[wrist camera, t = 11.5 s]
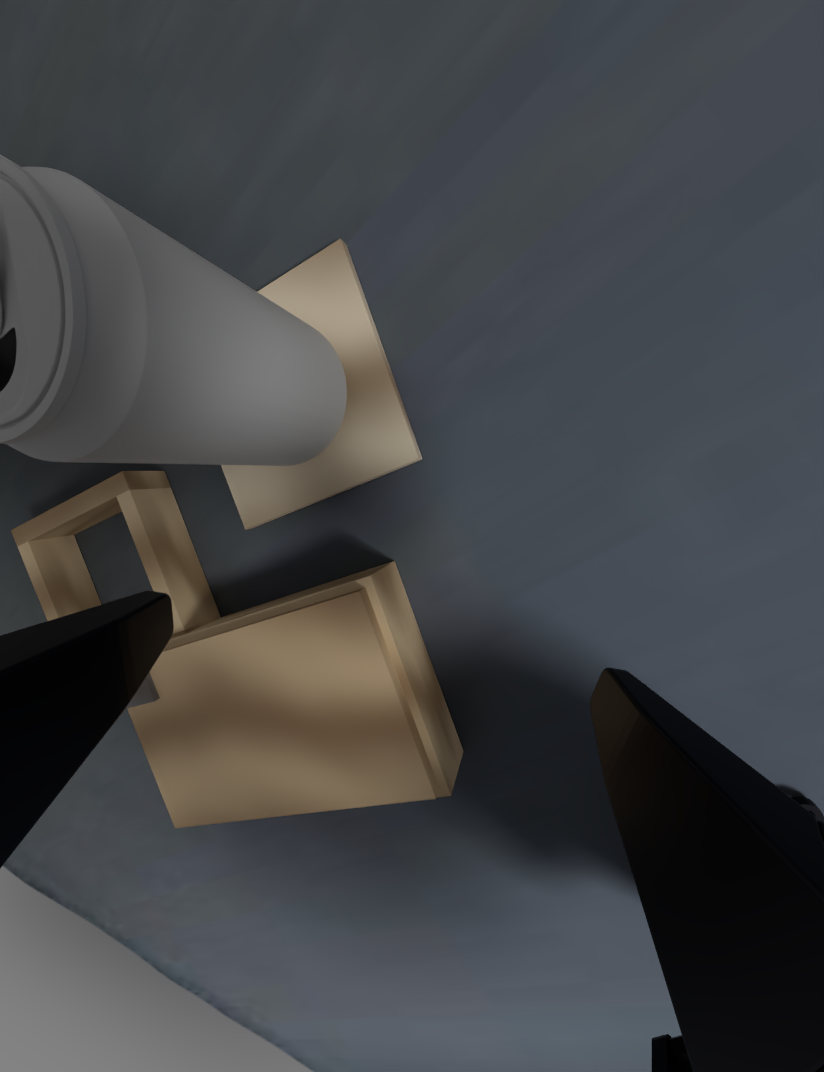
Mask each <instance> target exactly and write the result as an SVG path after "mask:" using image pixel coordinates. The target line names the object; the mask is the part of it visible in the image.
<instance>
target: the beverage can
mask: <svg viewBox="0 0 824 1072" xmlns="http://www.w3.org/2000/svg"><path fill="white" fill-rule="evenodd" d="M346 402H347V385H346V378H345V373H344V369H343V366H342V364H341V361H340V359H339V357H338V355H337V353H336V351H335V349H334V348H333V346H332V345H331V344H330V342H329V341H328V340H327V339H326V338H325V337H324V336H323V335H322V334H321V333H320V332H319V331H317V330H316V329H315V328H313V327H312V326H310V325H308V324H307V323H305V322H304V321H302V320H301V319H299V318H297V317H296V316H294V315H293V314H291V313H289V312H288V311H286V310H285V309H283V308H282V307H280V306H278V305H277V304H275V303H274V302H272V301H271V300H269V299H267V298H266V297H264V296H263V295H261V294H259V293H258V292H256V291H255V290H253V289H252V288H250V287H248V286H247V285H245V284H244V283H242V282H240V281H239V280H237V279H236V278H234V277H233V276H231V275H229V274H228V273H226V272H225V271H223V270H221V269H220V268H218V267H217V266H215V265H214V264H212V263H210V262H209V261H207V260H206V259H204V258H202V257H201V256H199V255H198V254H196V253H195V252H193V251H191V250H190V249H188V248H187V247H185V246H184V245H182V244H180V243H179V242H177V241H176V240H174V239H172V238H171V237H169V236H168V235H166V234H165V233H163V232H161V231H160V230H158V229H157V228H155V227H153V226H152V225H150V224H149V223H147V222H146V221H144V220H142V219H141V218H139V217H138V216H136V215H134V214H133V213H131V212H130V211H128V210H127V209H125V208H123V207H122V206H120V205H119V204H117V203H115V202H114V201H112V200H111V199H109V198H108V197H106V196H104V195H103V194H101V193H100V192H98V191H97V190H95V189H93V188H92V187H90V186H89V185H87V184H85V183H84V182H82V181H81V180H79V179H77V178H75V177H73V176H71V175H70V174H67V173H65V172H62V171H59V170H55V169H51V168H46V167H20V166H19V165H17V164H15V163H14V162H12V161H10V160H9V159H7V158H5V157H3V156H2V155H0V444H7V445H9V446H10V447H12V448H14V449H16V450H18V451H20V452H21V453H23V454H26V455H28V456H30V457H33V458H36V459H40V460H44V461H50V462H84V463H143V464H201V465H260V466H292V465H297V464H301V463H304V462H306V461H308V460H310V459H312V458H314V457H316V456H317V455H318V454H320V453H321V452H322V451H323V450H324V449H325V448H326V447H327V446H328V445H329V444H330V443H331V441H332V440H333V439H334V437H335V436H336V434H337V432H338V430H339V428H340V426H341V423H342V421H343V417H344V414H345V410H346Z"/></svg>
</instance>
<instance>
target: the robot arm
mask: <svg viewBox="0 0 824 1072" xmlns="http://www.w3.org/2000/svg"><path fill="white" fill-rule="evenodd" d="M173 630H174V623H173V612H172V601H171V598H170V596H169V595H168V594H166V593H161V592H155V591H144V592H141V593H138V594H135V595H131V596H128V597H125V598H121V599H118V600H115V601H112V602H108V603H105V604H102V605H99V606H95V607H92V608H89V609H86V610H82V611H79V612H76V613H73V614H69V615H66V616H63V617H60V618H56V619H53V620H50V621H47V622H43V623H40V624H37V625H34V626H30V627H27V628H24V629H21V630H17V631H14V632H11V633H8V634H4V635H1V636H0V868H1V867H2V865H3V864H4V863H5V862H6V860H7V859H8V858H9V857H10V855H11V854H12V853H13V851H14V850H15V849H16V848H17V846H18V845H19V844H20V843H21V841H22V840H23V839H24V837H25V836H26V835H27V834H28V832H29V831H30V830H31V828H32V827H33V826H34V825H35V823H36V822H37V821H38V820H39V818H40V817H41V816H42V814H43V813H44V812H45V811H46V809H47V808H48V807H49V805H50V804H51V803H52V802H53V800H54V799H55V798H56V797H57V795H58V794H59V793H60V791H61V790H62V789H63V788H64V786H65V785H66V784H67V782H68V781H69V780H70V779H71V777H72V776H73V775H74V774H75V772H76V771H77V770H78V768H79V767H80V766H81V765H82V763H83V762H84V761H85V759H86V758H87V757H88V756H89V754H90V753H91V752H92V751H93V749H94V748H95V747H96V745H97V744H98V743H99V742H100V740H101V739H102V738H103V736H104V735H105V734H106V733H107V731H108V730H109V729H110V728H111V726H112V725H113V724H114V722H115V721H116V720H117V719H118V717H119V716H120V715H121V713H122V712H123V711H124V709H125V708H126V707H127V705H128V704H129V703H130V701H131V700H132V698H133V697H134V695H135V694H136V692H137V691H138V689H139V688H140V686H141V685H142V683H143V681H144V680H145V678H146V677H147V675H148V674H149V672H150V670H151V669H152V667H153V666H154V664H155V663H156V661H157V659H158V658H159V656H160V655H161V653H162V651H163V650H164V648H165V647H166V645H167V644H168V642H169V640H170V639H171V637H172V634H173ZM590 709H591V715H592V720H593V725H594V730H595V735H596V740H597V745H598V751H599V756H600V761H601V766H602V771H603V775H604V780H605V784H606V788H607V791H608V795H609V798H610V801H611V805H612V808H613V811H614V815H615V818H616V821H617V824H618V828H619V831H620V834H621V837H622V841H623V844H624V847H625V850H626V854H627V857H628V860H629V863H630V867H631V870H632V873H633V877H634V880H635V883H636V886H637V890H638V893H639V896H640V899H641V903H642V906H643V909H644V912H645V916H646V919H647V922H648V926H649V929H650V932H651V935H652V939H653V942H654V945H655V948H656V952H657V955H658V958H659V961H660V965H661V968H662V971H663V975H664V978H665V981H666V984H667V988H668V991H669V994H670V997H671V1001H672V1004H673V1007H674V1010H675V1014H676V1017H677V1020H678V1024H679V1027H680V1030H681V1033H682V1035H681V1036H677V1037H673V1038H671V1036H670V1035H668V1034H666V1035H662V1036H659V1037H655V1038H652V1072H824V816H823V814H822V812H821V811H820V809H819V808H818V807H817V806H816V804H815V803H814V802H812V801H811V800H810V799H808V798H805V797H790V796H788V795H787V794H786V793H784V792H783V791H782V790H781V789H779V788H778V787H777V786H775V785H774V784H773V783H771V782H770V781H769V780H768V779H766V778H765V777H764V776H762V775H761V774H760V773H759V772H757V771H756V770H755V769H753V768H752V767H751V766H749V765H748V764H747V763H746V762H744V761H743V760H742V759H740V758H739V757H738V756H737V755H735V754H734V753H733V752H731V751H730V750H729V749H727V748H726V747H725V746H724V745H722V744H721V743H720V742H718V741H717V740H716V739H714V738H713V737H712V736H711V735H709V734H708V733H707V732H705V731H704V730H703V729H702V728H700V727H699V726H698V725H696V724H695V723H694V722H692V721H691V720H690V719H689V718H687V717H686V716H685V715H683V714H682V713H681V712H680V711H678V710H677V709H676V708H674V707H673V706H672V705H670V704H669V703H668V702H667V701H665V700H664V699H663V698H661V697H660V696H659V695H658V694H656V693H655V692H654V691H652V690H651V689H650V688H649V687H647V686H646V685H645V684H643V683H642V682H641V681H639V680H638V679H637V678H636V677H634V676H633V675H632V674H630V673H629V672H628V671H625V670H620V669H614V668H605V669H604V670H603V671H602V673H601V675H600V677H599V680H598V682H597V685H596V687H595V690H594V692H593V694H592V697H591V701H590ZM808 810H809V811H808Z"/></svg>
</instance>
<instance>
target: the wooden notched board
mask: <svg viewBox="0 0 824 1072" xmlns="http://www.w3.org/2000/svg"><path fill="white" fill-rule="evenodd" d="M120 512H123V515H124V517H125V520H126V522H127V525H128V527H129V530H130V533H131V535H132V538H133V540H134V543H135V545H136V548H137V550H138V553H139V556H140V558H141V561H142V563H143V566H144V568H145V571H146V573H147V576H148V578H149V581H150V584H151V586H152V589H153V591H155V592H161V593H166V594H168V595H169V596H170V598H171V601H172V612H173V623H174V630H173V634H172V637H171V639H170V640H169V642H168V644H167V645H166V647H165V648H164V650H163V651H162V653H161V655H160V656H159V658H158V659H157V661H156V663H155V664H154V666H153V667H152V669H151V670H150V672H149V674H148V675H147V677H146V678H145V680H144V681H143V683H142V685H141V686H140V688H139V689H138V691H137V692H136V694H135V695H134V697H133V698H132V700H131V701H130V703H129V704H128V705H127V707H126V708H125V709H128V712H129V714H130V717H131V719H132V722H133V724H134V727H135V729H136V732H137V734H138V737H139V739H140V742H141V744H142V747H143V749H144V752H145V754H146V757H147V759H148V762H149V764H150V767H151V769H152V772H153V774H154V777H155V779H156V782H157V784H158V787H159V789H160V792H161V794H162V797H163V799H164V802H165V804H166V807H167V809H168V812H169V814H170V817H171V819H172V822H173V824H174V827H175V828H181V827H190V826H199V825H208V824H217V823H225V822H234V821H243V820H252V819H261V818H270V817H279V816H288V815H296V814H305V813H314V812H323V811H332V810H341V809H350V808H359V807H367V806H376V805H385V804H394V803H403V802H412V801H421V800H430V799H436V798H438V797H446V796H451V794H452V791H453V787H454V784H455V780H456V776H457V773H458V769H459V766H460V762H461V759H462V755H463V748H462V746H461V743H460V740H459V737H458V735H457V732H456V729H455V726H454V724H453V721H452V718H451V715H450V713H449V710H448V707H447V704H446V702H445V699H444V696H443V693H442V691H441V688H440V685H439V682H438V680H437V677H436V674H435V671H434V669H433V666H432V663H431V660H430V657H429V655H428V652H427V649H426V646H425V644H424V641H423V638H422V635H421V633H420V630H419V627H418V624H417V622H416V619H415V616H414V613H413V611H412V608H411V605H410V602H409V600H408V597H407V594H406V591H405V589H404V586H403V583H402V580H401V578H400V575H399V572H398V569H397V567H396V564H395V561H392V562H389V563H386V564H383V565H380V566H377V567H374V568H371V569H368V570H365V571H362V572H359V573H356V574H353V575H349V576H346V577H343V578H340V579H337V580H334V581H331V582H328V583H325V584H322V585H319V586H316V587H313V588H310V589H307V590H303V591H300V592H297V593H294V594H291V595H288V596H285V597H282V598H279V599H276V600H273V601H270V602H267V603H264V604H261V605H257V606H254V607H251V608H248V609H245V610H242V611H239V612H236V613H233V614H230V615H227V616H224V617H221V616H220V614H219V611H218V609H217V606H216V603H215V601H214V598H213V596H212V593H211V590H210V588H209V585H208V583H207V580H206V577H205V575H204V572H203V570H202V567H201V564H200V562H199V559H198V557H197V554H196V552H195V549H194V546H193V544H192V541H191V539H190V536H189V533H188V531H187V528H186V526H185V523H184V520H183V518H182V515H181V513H180V510H179V507H178V505H177V502H176V500H175V497H174V494H173V492H172V489H171V487H170V484H169V481H168V479H167V476H166V474H165V471H121V472H120V473H118V474H116V475H114V476H112V477H110V478H108V479H106V480H105V481H103V482H101V483H99V484H97V485H95V486H93V487H91V488H90V489H88V490H86V491H84V492H82V493H80V494H78V495H76V496H74V497H73V498H71V499H69V500H67V501H65V502H63V503H61V504H59V505H58V506H56V507H54V508H52V509H50V510H48V511H46V512H44V513H43V514H41V515H39V516H37V517H35V518H33V519H31V520H29V521H28V522H26V523H24V524H22V525H20V526H18V527H16V528H14V529H13V530H11V532H12V534H13V537H14V539H15V542H16V544H17V547H18V549H19V552H20V554H21V557H22V559H23V561H24V564H25V566H26V569H27V571H28V574H29V576H30V579H31V581H32V584H33V586H34V589H35V591H36V594H37V596H38V599H39V601H40V603H41V606H42V608H43V611H44V613H45V616H46V618H47V621H50V620H53V619H56V618H60V617H63V616H66V615H69V614H73V613H76V612H79V611H82V610H86V609H89V608H92V607H95V606H99V605H102V604H101V602H100V599H99V597H98V594H97V592H96V589H95V587H94V584H93V582H92V579H91V577H90V574H89V572H88V569H87V567H86V564H85V562H84V559H83V557H82V554H81V552H80V549H79V547H78V544H77V542H76V539H75V537H74V535H75V534H77V533H79V532H81V531H83V530H85V529H87V528H89V527H91V526H93V525H95V524H97V523H99V522H101V521H104V520H106V519H108V518H110V517H112V516H114V515H116V514H118V513H120Z"/></svg>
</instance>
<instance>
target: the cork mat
mask: <svg viewBox="0 0 824 1072" xmlns="http://www.w3.org/2000/svg"><path fill="white" fill-rule="evenodd" d="M258 293H259V294H261V295H263V296H264V297H266V298H267V299H269V300H271V301H272V302H274V303H275V304H277V305H278V306H280V307H282V308H283V309H285V310H286V311H288V312H289V313H291V314H293V315H294V316H296V317H297V318H299V319H301V320H302V321H304V322H305V323H307V324H308V325H310V326H312V327H313V328H315V329H316V330H317V331H319V332H320V333H321V334H322V335H323V336H324V337H325V338H326V339H327V340H328V341H329V342H330V344H331V345H332V346H333V348H334V349H335V351H336V353H337V355H338V357H339V359H340V361H341V364H342V366H343V369H344V373H345V378H346V385H347V402H346V410H345V414H344V417H343V421H342V423H341V426H340V428H339V430H338V432H337V434H336V436H335V437H334V439H333V440H332V441H331V443H330V444H329V445H328V446H327V447H326V448H325V449H324V450H323V451H322V452H321V453H320V454H318V455H317V456H316V457H314V458H312V459H310V460H308V461H306V462H304V463H301V464H297V465H292V466H260V465H221V467H222V469H223V472H224V475H225V477H226V480H227V483H228V485H229V488H230V491H231V493H232V496H233V498H234V501H235V504H236V506H237V509H238V512H239V514H240V517H241V520H242V522H243V525H244V527H245V530H246V529H251V528H254V527H257V526H259V525H262V524H264V523H267V522H269V521H272V520H274V519H277V518H279V517H282V516H284V515H287V514H289V513H291V512H294V511H296V510H299V509H301V508H304V507H306V506H309V505H311V504H314V503H316V502H319V501H321V500H324V499H326V498H328V497H331V496H333V495H336V494H338V493H341V492H343V491H346V490H348V489H351V488H353V487H356V486H358V485H361V484H363V483H365V482H368V481H370V480H373V479H375V478H378V477H380V476H383V475H385V474H388V473H390V472H393V471H395V470H398V469H400V468H402V467H405V466H407V465H410V464H412V463H415V462H417V461H420V460H422V456H421V453H420V451H419V448H418V445H417V442H416V439H415V436H414V434H413V431H412V428H411V425H410V422H409V420H408V417H407V414H406V411H405V408H404V406H403V403H402V400H401V397H400V394H399V392H398V389H397V386H396V383H395V380H394V377H393V375H392V372H391V369H390V366H389V363H388V361H387V358H386V355H385V352H384V349H383V347H382V344H381V341H380V338H379V335H378V332H377V330H376V327H375V324H374V321H373V318H372V316H371V313H370V310H369V307H368V304H367V302H366V299H365V296H364V293H363V290H362V288H361V285H360V282H359V279H358V276H357V273H356V271H355V268H354V265H353V262H352V259H351V257H350V254H349V251H348V248H347V245H346V244H345V243H344V242H343V241H342V240H341V239H339V240H337V241H336V242H334V243H333V244H331V245H330V246H328V247H326V248H325V249H323V250H322V251H320V252H319V253H317V254H316V255H314V256H312V257H311V258H309V259H308V260H306V261H305V262H303V263H301V264H300V265H298V266H297V267H295V268H294V269H292V270H291V271H289V272H287V273H286V274H284V275H283V276H281V277H280V278H278V279H276V280H275V281H273V282H272V283H270V284H269V285H267V286H266V287H264V288H262V289H261V290H259V291H258Z"/></svg>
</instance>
